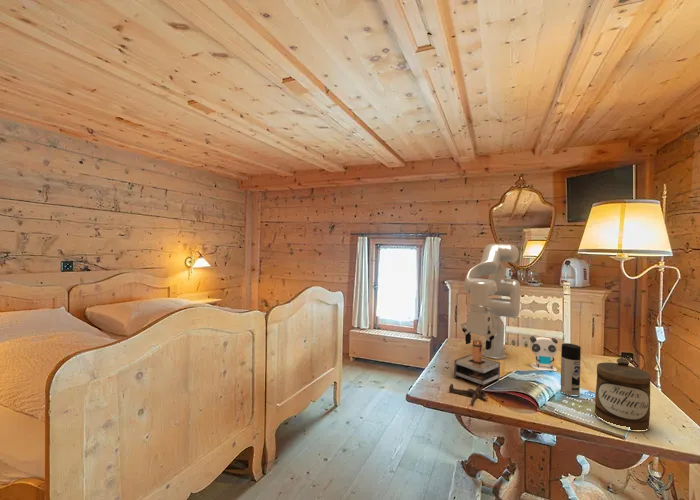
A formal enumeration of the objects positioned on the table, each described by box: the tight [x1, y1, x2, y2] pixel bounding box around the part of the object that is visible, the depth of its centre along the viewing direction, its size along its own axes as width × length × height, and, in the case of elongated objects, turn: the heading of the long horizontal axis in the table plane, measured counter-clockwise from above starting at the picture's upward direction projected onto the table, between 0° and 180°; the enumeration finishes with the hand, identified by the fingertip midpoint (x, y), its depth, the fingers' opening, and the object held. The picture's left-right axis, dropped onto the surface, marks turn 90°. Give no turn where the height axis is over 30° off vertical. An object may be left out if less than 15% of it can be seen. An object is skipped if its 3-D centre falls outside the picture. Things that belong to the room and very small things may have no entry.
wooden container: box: [594, 357, 652, 430], centre depth 118 cm, size 15×15×22 cm
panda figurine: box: [529, 335, 559, 372], centre depth 168 cm, size 12×11×15 cm
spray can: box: [560, 342, 582, 396], centre depth 139 cm, size 7×7×20 cm
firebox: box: [453, 353, 501, 386], centre depth 151 cm, size 14×14×8 cm
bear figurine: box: [448, 383, 489, 405], centre depth 135 cm, size 18×4×14 cm
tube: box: [472, 339, 484, 376], centre depth 151 cm, size 4×4×17 cm
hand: (477, 346), depth 152 cm, fingers open, 9 cm apart
